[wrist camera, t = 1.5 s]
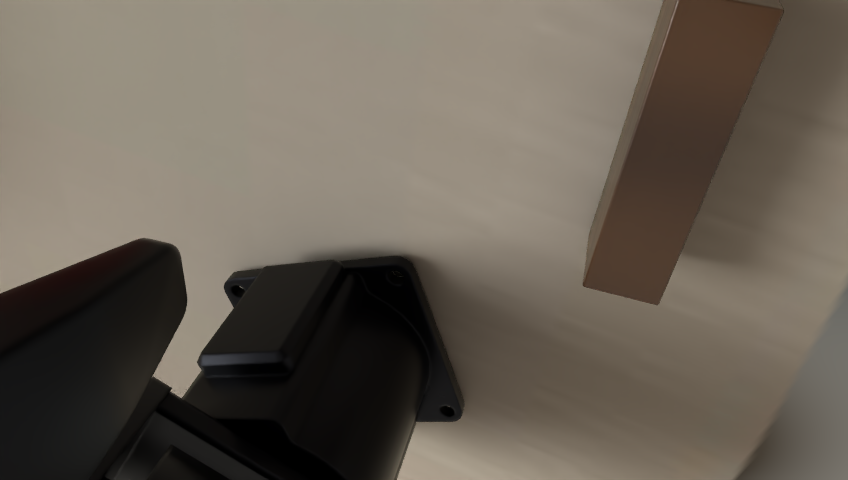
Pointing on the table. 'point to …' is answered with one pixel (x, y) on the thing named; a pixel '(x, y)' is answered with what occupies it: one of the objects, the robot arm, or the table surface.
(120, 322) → the robot arm
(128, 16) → the table surface
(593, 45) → the table surface
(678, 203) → the stick
